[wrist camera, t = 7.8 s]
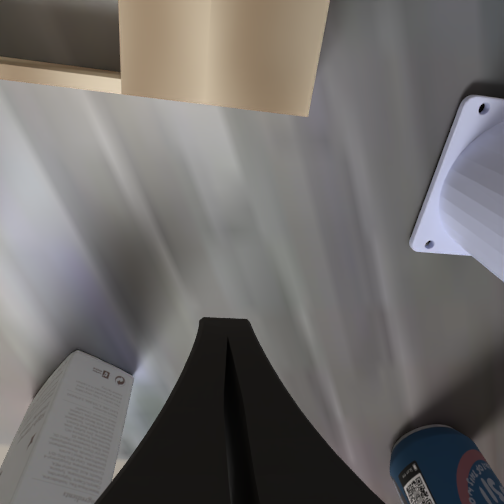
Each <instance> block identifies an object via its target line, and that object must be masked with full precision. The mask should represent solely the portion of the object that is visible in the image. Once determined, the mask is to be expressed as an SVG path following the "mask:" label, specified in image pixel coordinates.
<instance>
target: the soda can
mask: <svg viewBox="0 0 504 504" xmlns="http://www.w3.org/2000/svg"><path fill="white" fill-rule="evenodd" d="M390 475H391V478H392V480H393V482H394V485H395V487H396V490H397V492H398V495H399V497H400V499H401V502H402V504H504V488H503V486H502V485H501V483H500V481H499V480H498V478H497V477H496V475H495V474H494V472H493V471H492V469H491V468H490V466H489V464H488V463H487V461H486V460H485V458H484V457H483V455H482V454H481V452H480V451H479V449H478V448H477V446H476V444H475V443H474V442H473V441H472V440H471V439H470V438H468V437H467V436H465V435H464V434H462V433H460V432H459V431H457V430H455V429H453V428H452V427H450V426H447V425H441V424H433V425H426V426H422V427H419V428H416V429H414V430H412V431H410V432H408V433H406V434H405V435H403V436H402V437H401V438H400V439H399V440H398V441H397V442H396V443H395V444H394V446H393V449H392V453H391V460H390Z"/></svg>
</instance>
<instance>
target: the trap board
mask: <svg viewBox="0 0 504 504" xmlns="http://www.w3.org/2000/svg"><path fill="white" fill-rule="evenodd" d="M329 3H330V0H118V8H119V36H120V65H121V72H116V71H109V70H101V69H93V68H86V67H78V66H70V65H63V64H55V63H47V62H40V61H32V60H24V59H17V58H9V57H1V56H0V79H2V80H10V81H18V82H26V83H35V84H43V85H51V86H59V87H67V88H75V89H84V90H92V91H100V92H108V93H116V94H124V95H132V96H141V97H149V98H157V99H165V100H173V101H181V102H190V103H198V104H206V105H214V106H222V107H230V108H239V109H247V110H255V111H263V112H271V113H279V114H288V115H296V116H304V117H308V113H309V108H310V103H311V97H312V92H313V87H314V82H315V77H316V71H317V66H318V61H319V56H320V50H321V45H322V40H323V35H324V29H325V24H326V19H327V14H328V8H329Z"/></svg>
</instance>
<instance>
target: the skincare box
mask: <svg viewBox="0 0 504 504" xmlns="http://www.w3.org/2000/svg"><path fill="white" fill-rule="evenodd" d="M133 381H134V377H133V376H132V375H130V374H128V373H126V372H125V371H123V370H121V369H119V368H117V367H115V366H113V365H111V364H108V363H106V362H104V361H102V360H100V359H98V358H96V357H94V356H91V355H89V354H86V353H84V352H82V351H79V350H76V351H75V352H72V353H71V354H70V355H69V356H68V357H67V358H66V359H65V360H64V361H63V362H62V363H61V365H60V366H59V367H58V368H57V369H56V370H55V371H54V373H53V374H52V375H51V376H50V378H49V379H48V380H47V381H46V383H45V384H44V385H43V386H42V388H41V389H40V391H39V392H38V393H37V395H36V396H35V397H34V399H33V400H32V402H31V404H30V405H29V408H28V410H27V412H26V414H25V416H24V418H23V421H22V423H21V425H20V427H19V429H18V431H17V433H16V435H15V437H14V439H13V442H12V444H11V446H10V448H9V450H8V452H7V455H6V457H5V459H4V461H3V463H2V465H1V468H0V504H94V503H95V502H96V500H97V499H98V498H99V497H100V495H101V494H102V493H103V492H104V490H105V489H106V488H107V487H108V486H109V484H110V483H111V482H112V477H113V473H114V468H115V464H116V460H117V455H118V450H119V446H120V441H121V436H122V432H123V428H124V423H125V418H126V414H127V409H128V404H129V400H130V395H131V390H132V386H133Z"/></svg>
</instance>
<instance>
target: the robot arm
mask: <svg viewBox="0 0 504 504" xmlns="http://www.w3.org/2000/svg"><path fill="white" fill-rule="evenodd" d="M483 103H484V105H485V106H484V109H483V111H482V112H480V113H479V107H480V106H481V105H482V104H483ZM430 240H431V242H430V243H429V244H428V245H425V244H426V242H428V241H430ZM409 244H410V247H411V248H412V249H413V250H414V251H417V252H429V253H442V254H456V255H470V256H473V257H474V258H475V259H477V260H478V261H479V262H480V263H481V264H483V265H484V266H485V267H486V268H487V269H489V270H490V271H491V272H492V273H493V274H495V275H496V276H497V277H498V278H499V279H501V280H502V281H503V282H504V99H502V98H495V97H487V96H480V95H469V96H467V97H465V98H464V99H463V100H462V102H461V104H460V106H459V109H458V111H457V114H456V117H455V119H454V122H453V125H452V127H451V130H450V133H449V136H448V138H447V141H446V144H445V146H444V149H443V152H442V155H441V157H440V160H439V163H438V165H437V168H436V171H435V173H434V176H433V179H432V182H431V184H430V187H429V190H428V192H427V195H426V198H425V200H424V203H423V206H422V209H421V211H420V214H419V217H418V219H417V222H416V225H415V227H414V230H413V233H412V236H411V238H410V242H409ZM94 504H385V503H384V502H383V501H382V500H381V499H380V498H379V497H378V496H377V495H376V494H375V493H374V492H372V491H371V490H370V489H369V488H368V487H367V486H366V484H365V483H364V482H363V481H362V480H361V479H360V478H359V477H358V476H357V475H356V474H355V473H354V472H353V471H352V470H351V469H350V468H349V467H348V466H347V465H346V464H345V463H344V461H343V460H342V459H341V458H340V457H339V456H338V455H337V454H336V453H335V452H334V451H333V449H332V448H331V447H330V446H329V445H328V444H327V442H326V441H325V440H324V439H323V438H322V437H321V435H320V434H319V433H318V432H317V430H316V429H315V428H314V427H313V425H312V424H311V423H310V422H309V420H308V419H307V418H306V416H305V415H304V414H303V412H302V411H301V410H300V408H299V407H298V406H297V404H296V403H295V401H294V400H293V398H292V397H291V395H290V394H289V393H288V391H287V390H286V388H285V387H284V385H283V383H282V382H281V380H280V379H279V377H278V375H277V374H276V372H275V370H274V369H273V367H272V365H271V364H270V362H269V360H268V358H267V357H266V355H265V353H264V351H263V349H262V347H261V345H260V344H259V341H258V339H257V337H256V335H255V333H254V331H253V329H252V326H251V324H250V322H249V321H248V320H247V319H233V318H210V317H204V318H202V319H201V320H200V321H199V328H198V332H197V336H196V339H195V342H194V345H193V348H192V350H191V353H190V355H189V357H188V360H187V362H186V364H185V366H184V369H183V371H182V373H181V375H180V377H179V379H178V381H177V383H176V385H175V387H174V388H173V390H172V392H171V394H170V396H169V398H168V400H167V401H166V403H165V405H164V407H163V408H162V410H161V412H160V413H159V415H158V417H157V418H156V420H155V421H154V423H153V424H152V426H151V428H150V429H149V431H148V432H147V434H146V435H145V437H144V438H143V440H142V441H141V442H140V444H139V445H138V447H137V448H136V450H135V451H134V452H133V454H132V455H131V457H130V458H129V460H128V461H127V462H126V464H125V465H124V466H123V468H122V469H121V470H120V472H119V473H118V474H117V476H116V477H115V478H114V479H113V481H112V482H111V483H110V484H109V486H108V487H107V488H106V489H105V490H104V492H103V493H102V494H101V495H100V497H99V498H98V499H97V500H96V502H95V503H94Z"/></svg>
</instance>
